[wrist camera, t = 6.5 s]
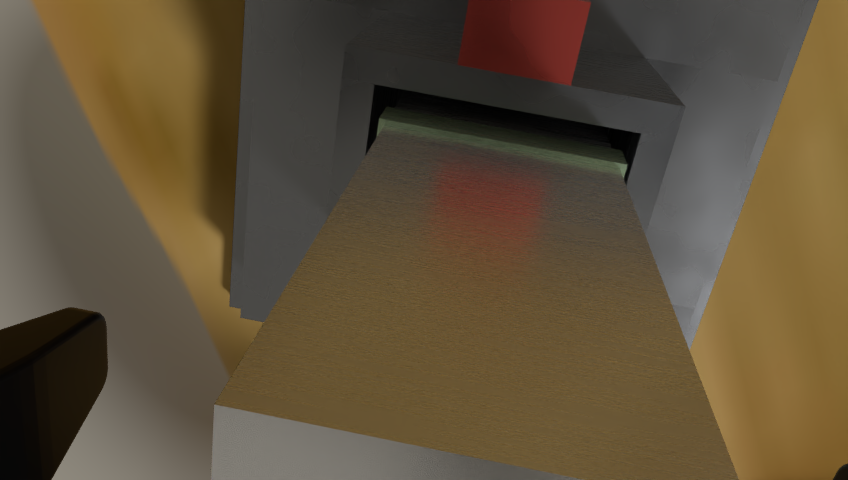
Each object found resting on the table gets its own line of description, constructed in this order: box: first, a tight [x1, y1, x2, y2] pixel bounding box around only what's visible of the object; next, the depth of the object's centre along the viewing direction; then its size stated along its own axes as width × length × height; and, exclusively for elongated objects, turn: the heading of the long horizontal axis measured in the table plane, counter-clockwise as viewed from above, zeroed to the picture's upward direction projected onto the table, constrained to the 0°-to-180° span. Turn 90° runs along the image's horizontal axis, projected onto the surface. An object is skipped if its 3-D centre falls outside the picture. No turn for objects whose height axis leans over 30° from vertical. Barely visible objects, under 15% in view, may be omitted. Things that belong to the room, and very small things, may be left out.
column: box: [211, 90, 739, 480], centre depth 11 cm, size 4×4×11 cm
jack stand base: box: [230, 0, 818, 350], centre depth 17 cm, size 14×14×7 cm
